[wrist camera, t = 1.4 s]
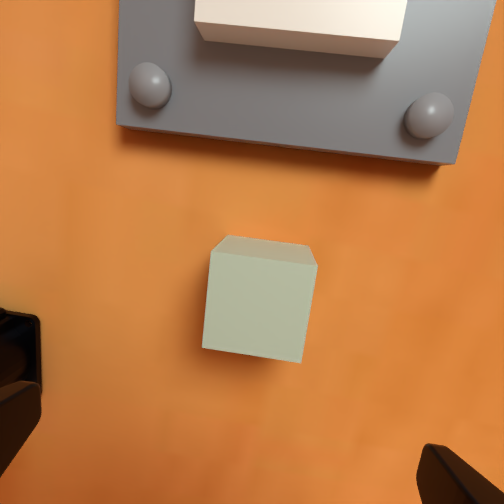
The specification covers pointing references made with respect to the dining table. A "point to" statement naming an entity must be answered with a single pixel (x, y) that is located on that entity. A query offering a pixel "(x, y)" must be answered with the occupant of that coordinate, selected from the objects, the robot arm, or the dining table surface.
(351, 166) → the dining table surface
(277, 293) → the sage brick
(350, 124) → the tower base
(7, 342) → the robot arm
